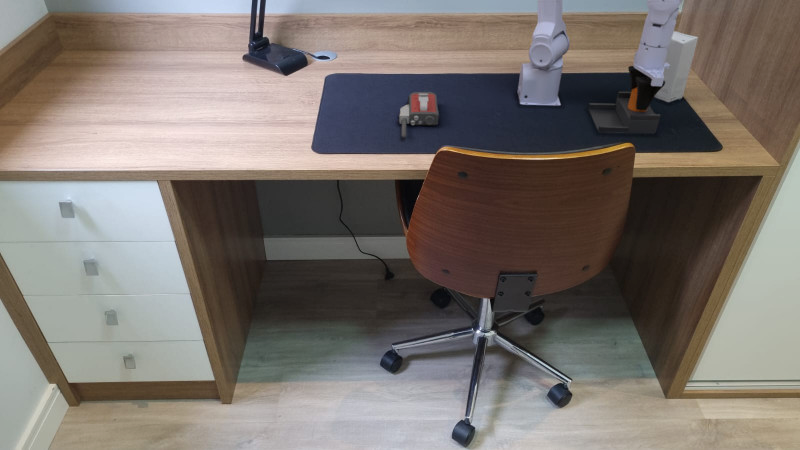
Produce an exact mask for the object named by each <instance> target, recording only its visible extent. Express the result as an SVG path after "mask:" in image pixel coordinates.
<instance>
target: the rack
mask: <svg viewBox="0 0 800 450" xmlns="http://www.w3.org/2000/svg"><path fill="white" fill-rule="evenodd" d="M630 96H631V91H618V93H617V97H616V100H615V103H605V102H604V103H601V102H589V103H588V106H587V109H588V111H589V114H590V116H591V118H592V120H593V122H594V125H595V127H596V130H597V132H598V133H617V134H618V133H619V134H651V135H654V134H657V133H656V132H657V129H658V126H659V123H660V120H661V114H660V113H655V112H654V110H653V109H652V107H651V105H649V107H648V109H647V111H645V112H636V111H632V110H630V109H629V108H628V103H629V100H630Z"/></svg>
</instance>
